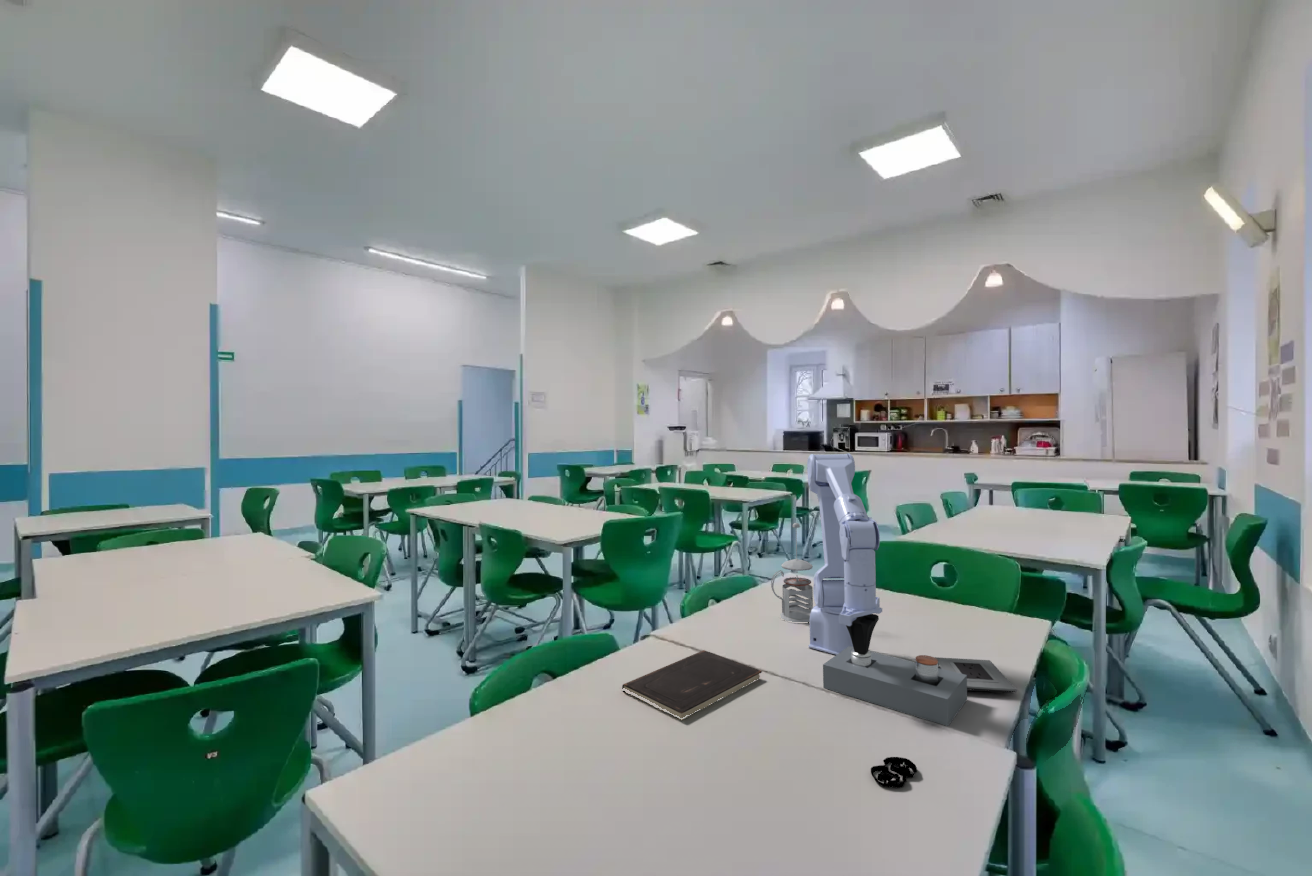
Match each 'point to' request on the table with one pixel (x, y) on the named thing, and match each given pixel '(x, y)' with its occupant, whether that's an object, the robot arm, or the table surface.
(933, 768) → the table surface
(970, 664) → the electrical outlet
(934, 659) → the copper-capped canister
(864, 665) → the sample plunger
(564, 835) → the table surface
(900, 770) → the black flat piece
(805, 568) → the french press
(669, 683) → the hardcover book
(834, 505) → the robot arm
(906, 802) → the table surface
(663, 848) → the table surface
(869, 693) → the console
